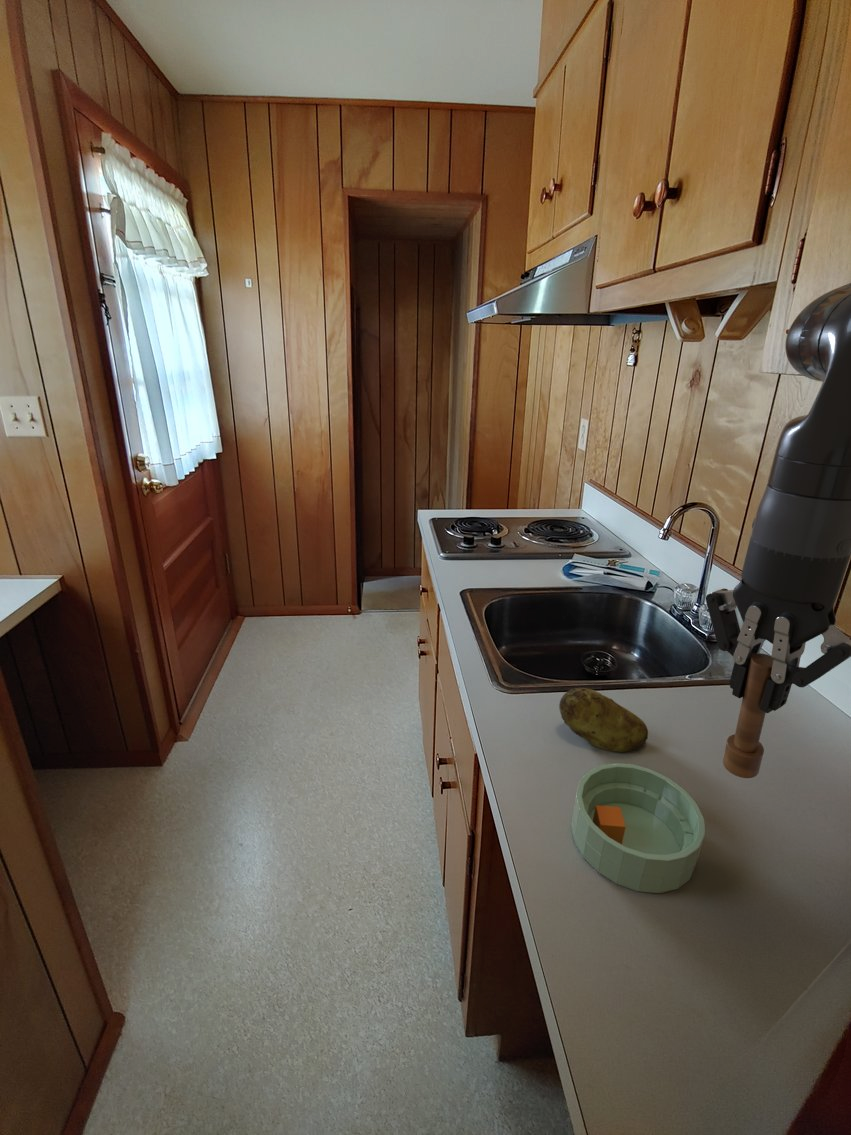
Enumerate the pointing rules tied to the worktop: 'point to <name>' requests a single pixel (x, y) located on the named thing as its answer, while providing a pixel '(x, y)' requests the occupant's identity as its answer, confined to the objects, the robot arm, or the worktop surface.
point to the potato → (602, 721)
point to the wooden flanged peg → (749, 722)
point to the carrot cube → (610, 822)
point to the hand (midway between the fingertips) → (754, 700)
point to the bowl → (639, 828)
